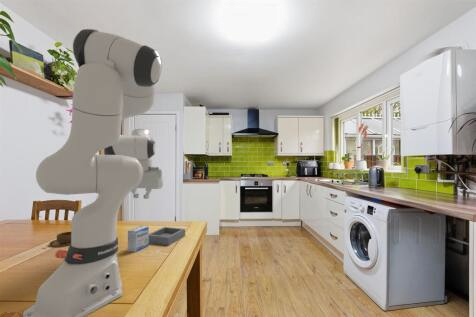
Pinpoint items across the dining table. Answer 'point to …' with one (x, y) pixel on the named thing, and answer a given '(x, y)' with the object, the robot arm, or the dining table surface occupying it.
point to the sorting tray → (166, 235)
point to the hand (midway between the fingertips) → (141, 198)
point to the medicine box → (138, 238)
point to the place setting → (62, 240)
